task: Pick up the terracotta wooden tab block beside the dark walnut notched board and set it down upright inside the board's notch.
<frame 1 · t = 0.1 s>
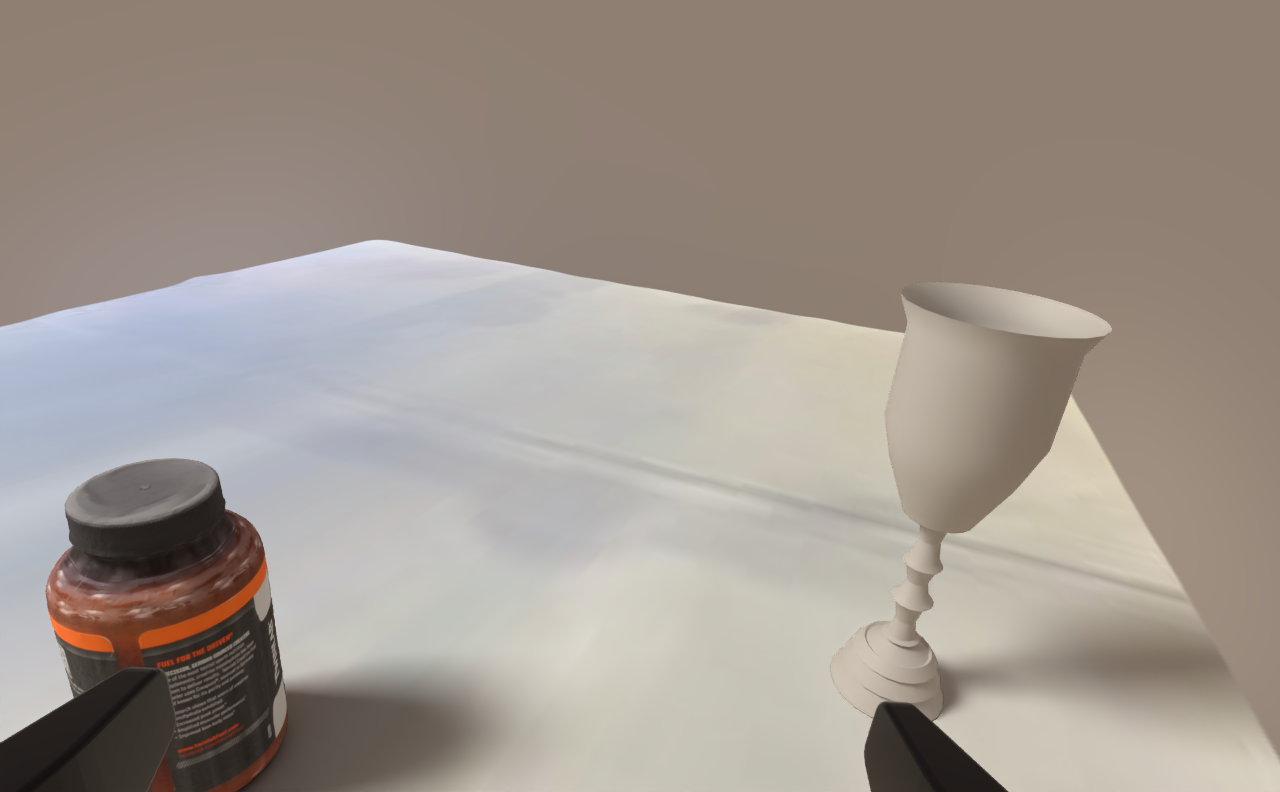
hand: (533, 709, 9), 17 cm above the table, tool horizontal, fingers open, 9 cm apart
supplement bottle: (202, 754, 26), on the table
chalice: (885, 684, 33), on the table
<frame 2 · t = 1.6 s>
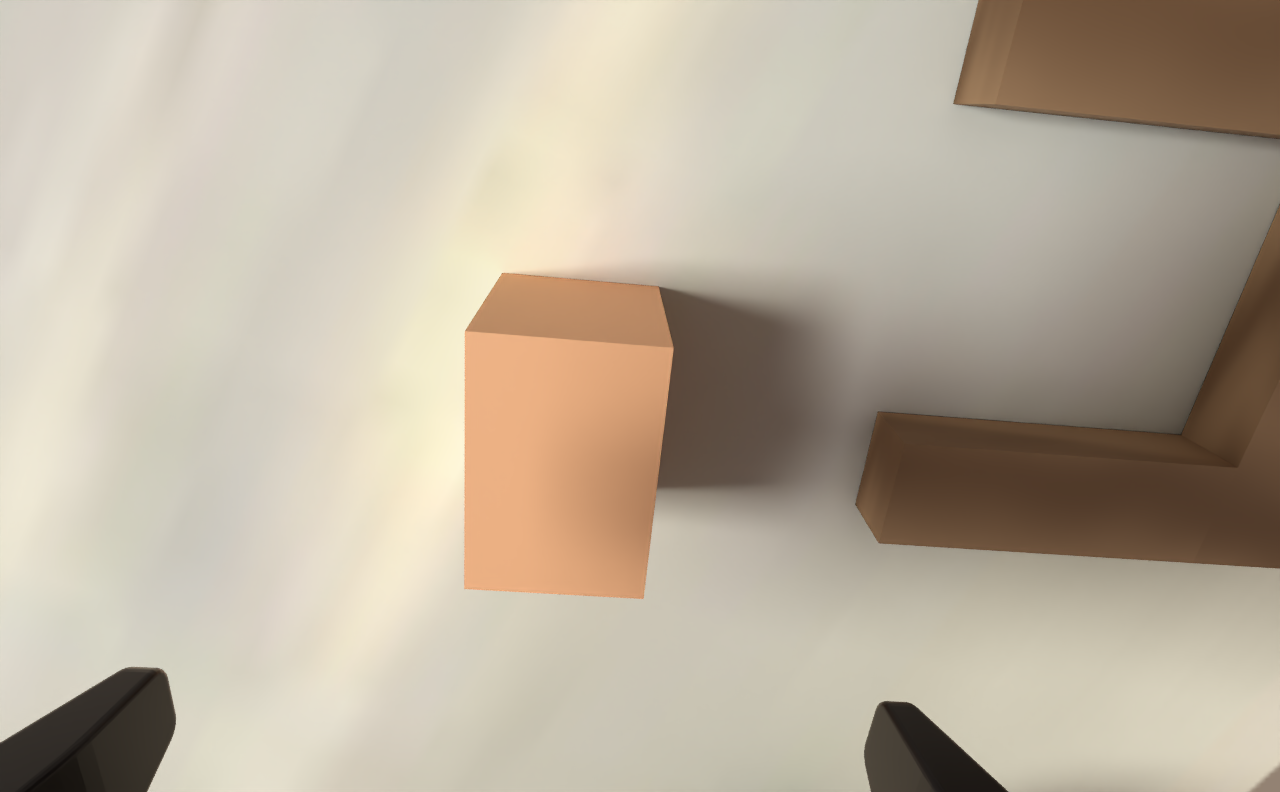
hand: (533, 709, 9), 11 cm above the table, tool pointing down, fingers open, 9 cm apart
tab block: (574, 386, 19), on the table
notched board: (1078, 285, 19), on the table
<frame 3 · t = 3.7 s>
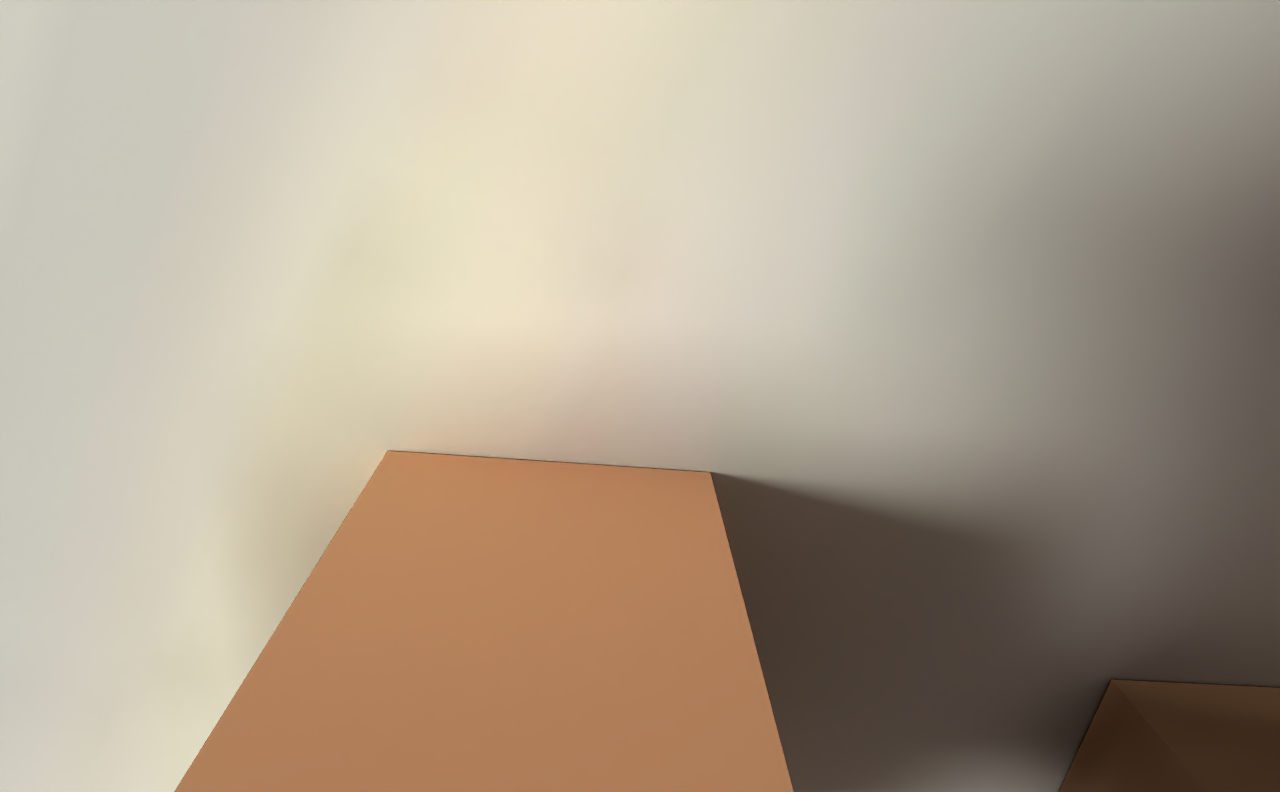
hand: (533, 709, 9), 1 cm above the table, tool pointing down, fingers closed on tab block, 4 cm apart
tab block: (541, 649, 10), on the table, touching gripper
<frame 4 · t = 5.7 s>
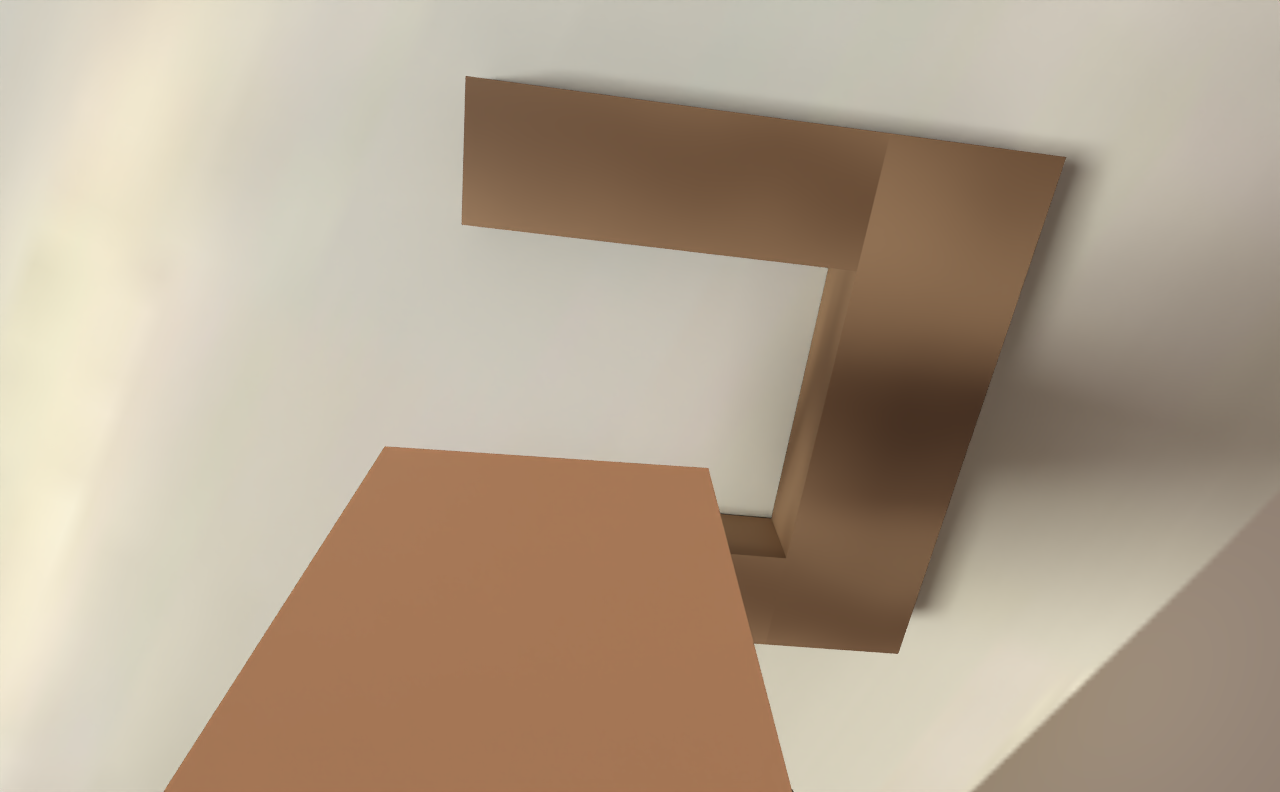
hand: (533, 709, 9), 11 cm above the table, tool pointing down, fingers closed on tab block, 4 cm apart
tab block: (539, 645, 10), point 10 cm above the table, touching gripper
notched board: (638, 379, 19), on the table
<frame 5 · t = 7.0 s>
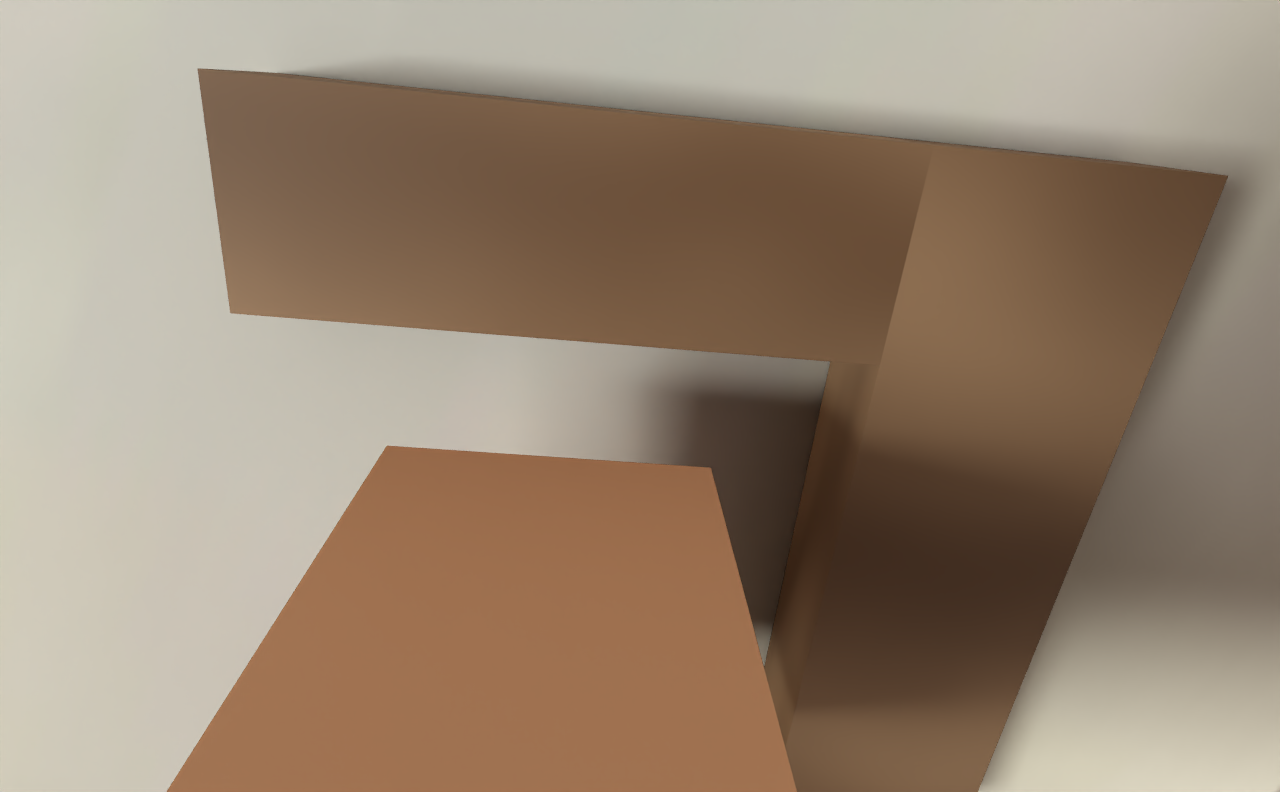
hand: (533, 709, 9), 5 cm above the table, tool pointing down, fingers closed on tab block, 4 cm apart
tab block: (541, 645, 10), point 4 cm above the table, touching gripper
notched board: (560, 507, 13), on the table
when the fingers open (3 cm above the table, at t = 8.1 s): tab block drops 2 cm, on the table.
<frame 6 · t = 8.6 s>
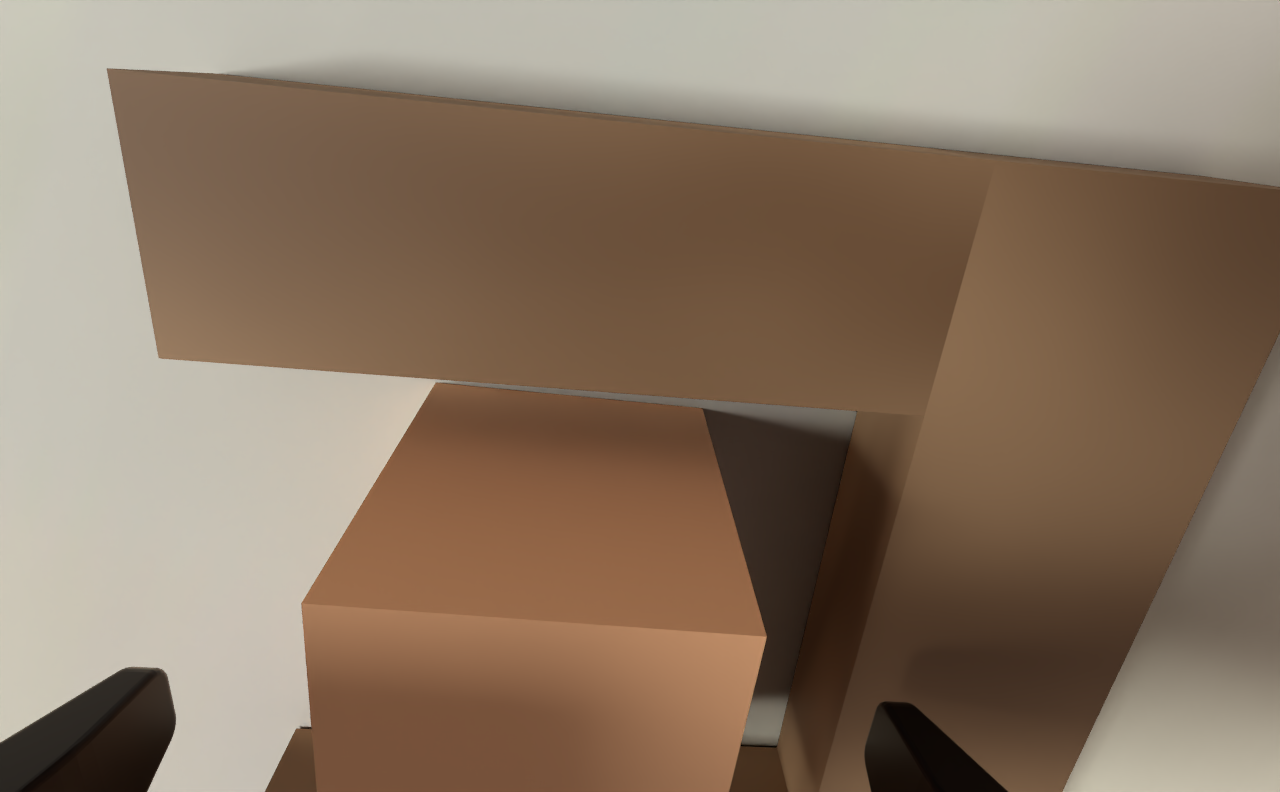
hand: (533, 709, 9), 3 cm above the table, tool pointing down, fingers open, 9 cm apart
tab block: (556, 557, 12), on the table
notched board: (552, 563, 12), on the table
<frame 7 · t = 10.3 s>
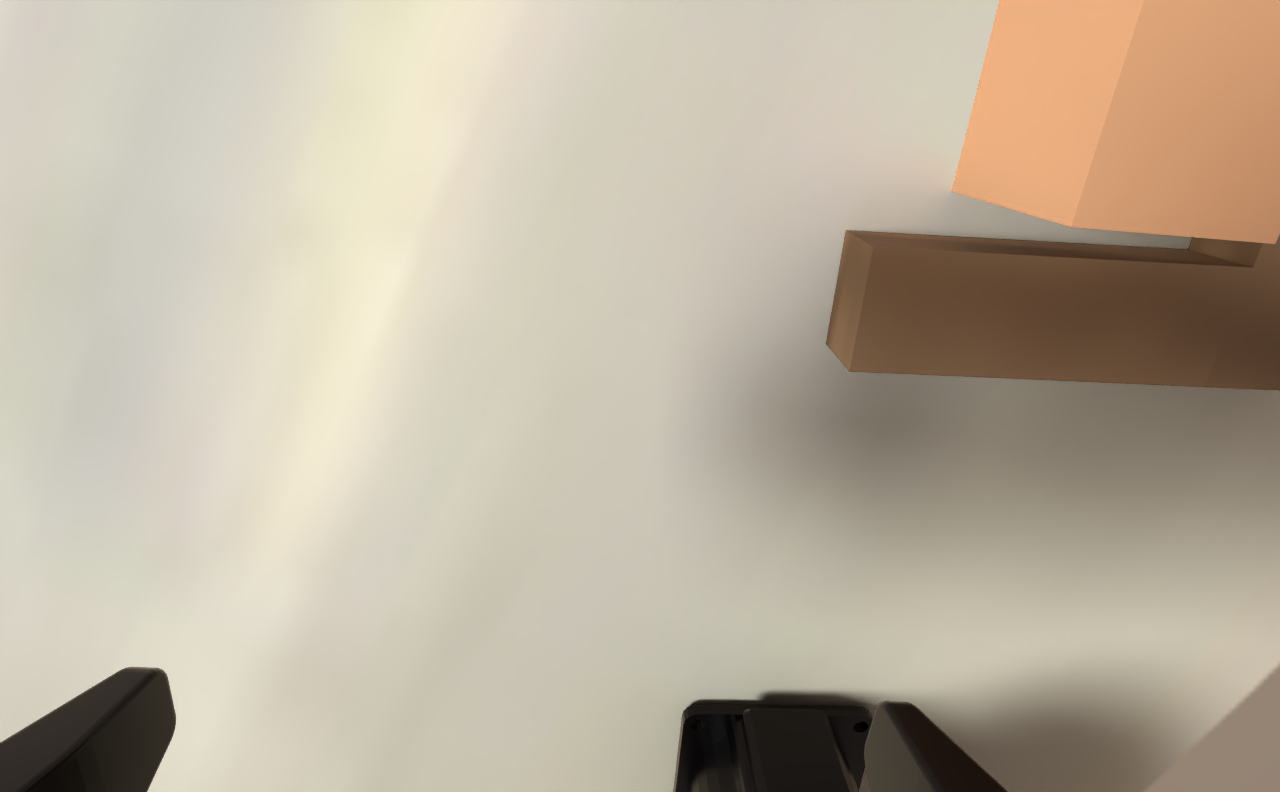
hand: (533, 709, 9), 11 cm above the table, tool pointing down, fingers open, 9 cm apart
tab block: (1066, 65, 16), on the table
notched board: (1067, 66, 16), on the table
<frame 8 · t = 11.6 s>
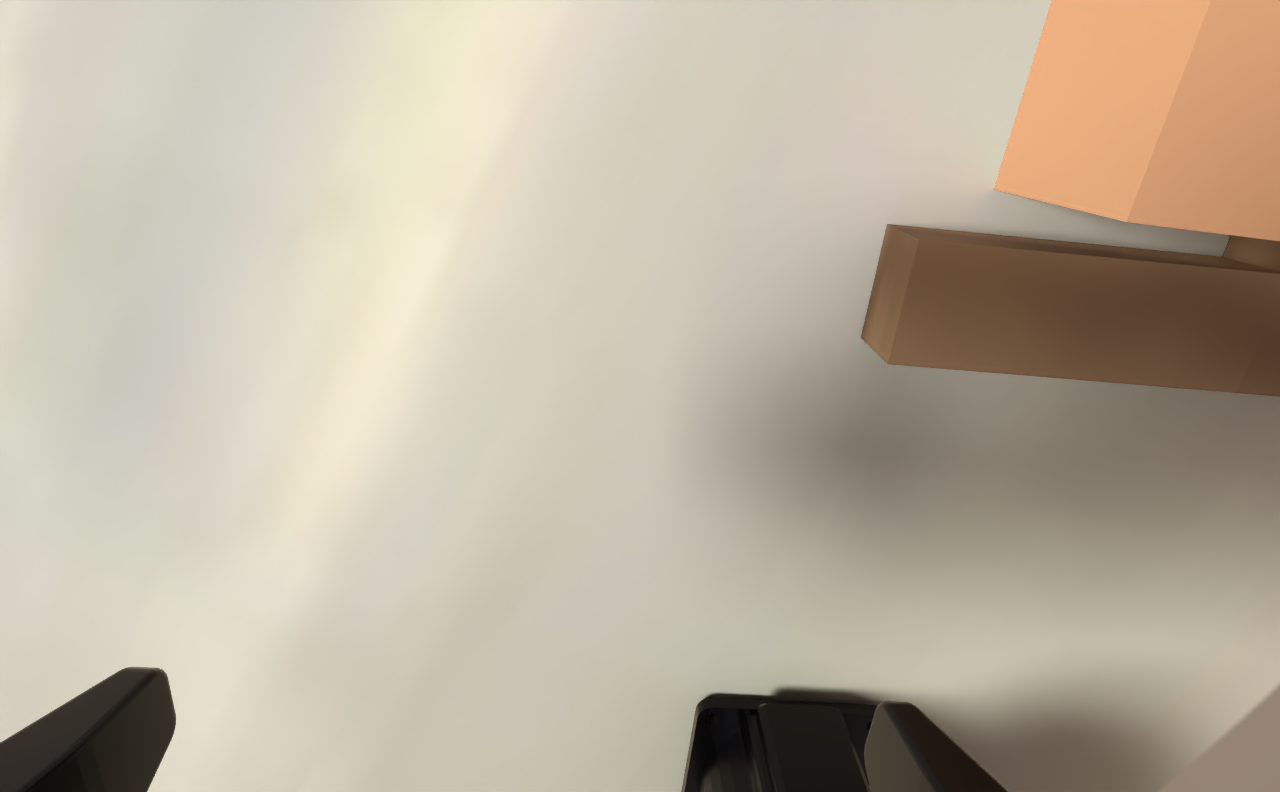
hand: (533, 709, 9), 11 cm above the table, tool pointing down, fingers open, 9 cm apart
tab block: (1112, 68, 17), on the table
notched board: (1114, 69, 17), on the table
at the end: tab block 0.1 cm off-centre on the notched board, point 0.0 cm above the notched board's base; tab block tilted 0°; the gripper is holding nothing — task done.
